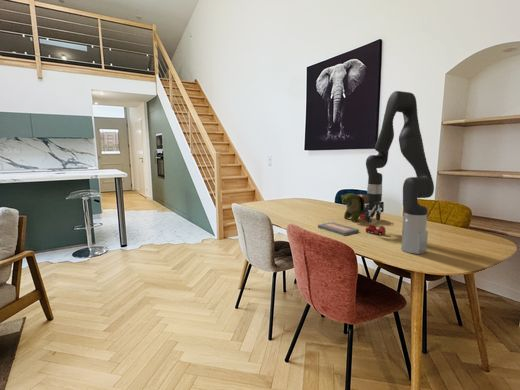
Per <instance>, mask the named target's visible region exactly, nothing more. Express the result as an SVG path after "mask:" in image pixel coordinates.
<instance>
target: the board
mask: <svg viewBox="0 0 520 390" xmlns="http://www.w3.org/2000/svg"><path fill="white" fill-rule="evenodd" d="M317 228H319V229H322V230H325V231H328V232H331V233H335V234H337V235H340V236H347V235H353V234H356V233H359V232H360V229H359V228H355V227H351V226H348V225H344V224H339V223H337V222H335V221H334V222H331V221H330V222H327V223H322V224H318V225H317Z"/></svg>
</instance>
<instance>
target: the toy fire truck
mask: <svg viewBox="0 0 520 390" xmlns="http://www.w3.org/2000/svg"><path fill="white" fill-rule="evenodd" d="M359 219H361V220H366V215H360V217H359ZM377 222H378V220H377V219H376V217H375V218H374V217H373V218H372V217H370V223H368V224H369V225H368V227H366V228H365V232H366V233H368V234H376V235H378V236H385V235H386V227H385V226H383V225H380V226H379V227H378V228H377V226H375V224H376V223H377Z"/></svg>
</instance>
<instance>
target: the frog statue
mask: <svg viewBox="0 0 520 390" xmlns="http://www.w3.org/2000/svg"><path fill="white" fill-rule="evenodd" d="M340 198H341V202H342V203H341V204H342V205H345V206H346V210H345V212H344V215H343V218H344V220H346V219H349V218H350V221H351V222H352V223H353V222H356V221H357V220H358V219H360V215H363V207H364V204H368V201H367V194H363V193H359V194H355V193H353V192H352V193H351V192H349V193H345V194H341V195H340ZM365 213H366V211H365ZM368 214H369V212H368ZM374 216H376V211H373V212H372V213H371V215H370V217H372V218H374Z"/></svg>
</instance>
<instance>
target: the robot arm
mask: <svg viewBox="0 0 520 390" xmlns="http://www.w3.org/2000/svg"><path fill="white" fill-rule="evenodd" d="M397 113H402V116H403V127H402V129H401V130H400V133H399V136H398V144H399V151H400V153H401V154H402V156H403V157H404V158H405V160H406V161H407V162H408V163H409V164H410V165H411V166H412V168H413V169H414V172H415V175H416V176H412V177H407V178H406V179H405V180H404V181H403V185H402V207H403V214H402V217H403V218H402V230H401V246H400V247H401V248H400V249H401V250H402V251H403V252H404V253H405V252H406V253H410V254H415V255H421V254H425V253H427V247H428V236H429V230H427V220H428V208H427V206H424V205H422V204H419V203H418V201H419V200H418V199H427V198H431V197H432V196H433V194H434V192H435V191H434V190H435V184H434V179H433V177H432V174H431V170H430V168H429V165H428V161H427V158H426V153H425V148H424V143H423V138H422V133H421V129H420V123H419V117H418V115H419V114H418V106H417V97H416V96H415V94H414V93H413V92H409V91H401V90H395V91H394V92H392V93H391V94H390V96H389V97H388V99H387V101H386V106H385V111H384V115H383V121H382V125H381V129H380V132H379V134H378V137H377V140H376V143H375V146H374V150H375V151H376V152H378V153H377V154H372V155H368V157H367V158H366V159H365V168H366V171H367V176H368V178H367V179H368V180H367V189H366V196H367V201H368V204H364V207H363V215H366V219H364V220H365V222H366V223H368V224H370V223H371V219H370V215H371V213H372V212H373V211H376V213H375V218H376V219H377V222H378V221H380V220H381V215H382V213H384V208H385V207H384V206H385V204H384V201H382V199H383V198H382V196H383V174H382V173H381V172H378V169H382V168H384V167H385V166H386V165H387V164H388V159H389V154H390V153H389V151H390V148H391V145H392V143H393V141H394V137H395V130H394V118H395V116H396V114H397ZM365 211H366V213H365ZM368 212H369V214H368Z"/></svg>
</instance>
